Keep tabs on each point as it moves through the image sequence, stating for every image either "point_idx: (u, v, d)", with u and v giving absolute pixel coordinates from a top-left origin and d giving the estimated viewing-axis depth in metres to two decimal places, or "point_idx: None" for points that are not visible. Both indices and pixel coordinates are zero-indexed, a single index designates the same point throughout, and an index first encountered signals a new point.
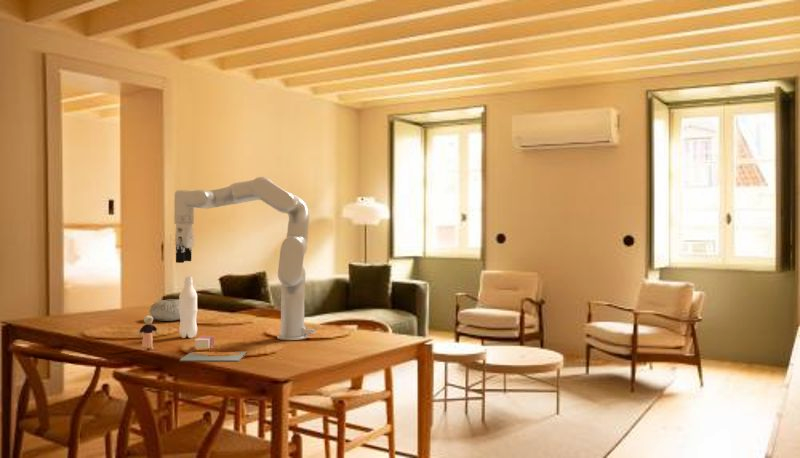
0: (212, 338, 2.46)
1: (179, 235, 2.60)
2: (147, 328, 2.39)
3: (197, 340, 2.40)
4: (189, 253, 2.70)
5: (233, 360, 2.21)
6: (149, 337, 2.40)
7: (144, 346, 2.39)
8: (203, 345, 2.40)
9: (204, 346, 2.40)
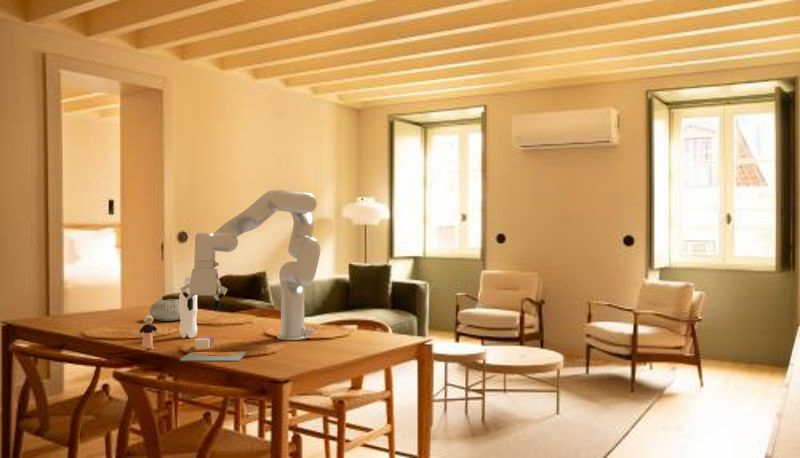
0: (212, 338, 2.46)
1: (217, 281, 2.43)
2: (147, 328, 2.39)
3: (197, 340, 2.40)
4: (192, 301, 2.44)
5: (233, 360, 2.21)
6: (149, 337, 2.40)
7: (144, 346, 2.39)
8: (203, 345, 2.40)
9: (204, 346, 2.40)
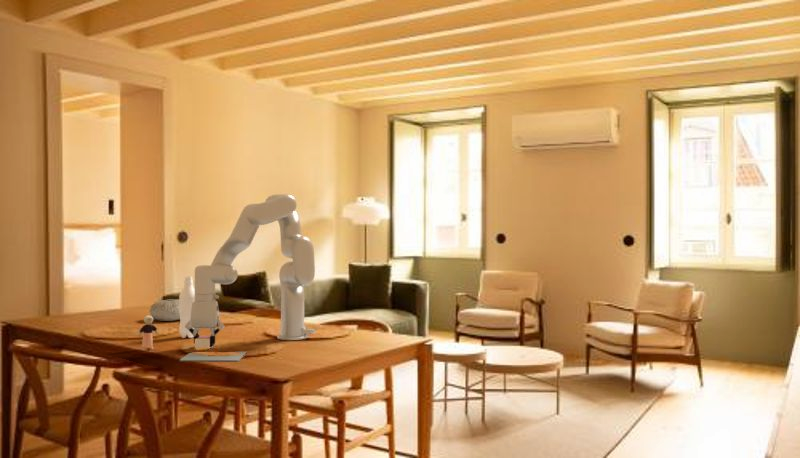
0: None
1: (217, 314, 2.44)
2: (147, 328, 2.39)
3: (197, 340, 2.40)
4: None
5: (233, 360, 2.21)
6: (149, 337, 2.40)
7: (144, 346, 2.39)
8: (203, 345, 2.40)
9: (204, 346, 2.40)
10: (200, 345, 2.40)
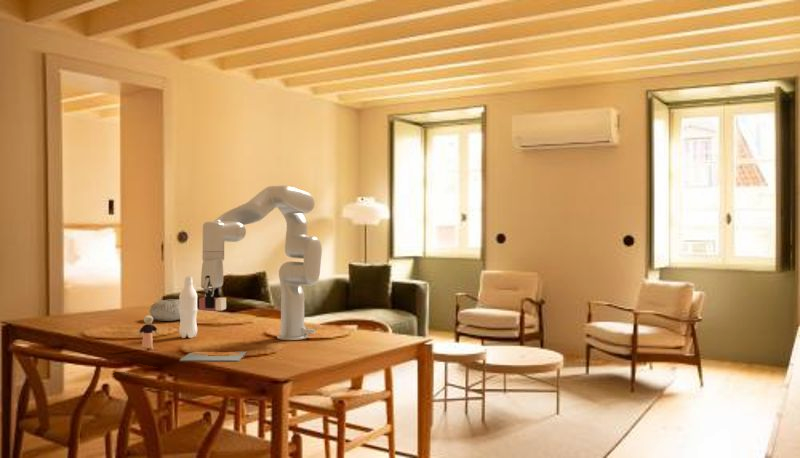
0: None
1: None
2: (147, 328, 2.39)
3: (221, 299, 2.28)
4: None
5: (233, 360, 2.21)
6: (149, 337, 2.40)
7: (144, 346, 2.39)
8: (224, 304, 2.30)
9: (224, 305, 2.31)
10: (223, 304, 2.29)
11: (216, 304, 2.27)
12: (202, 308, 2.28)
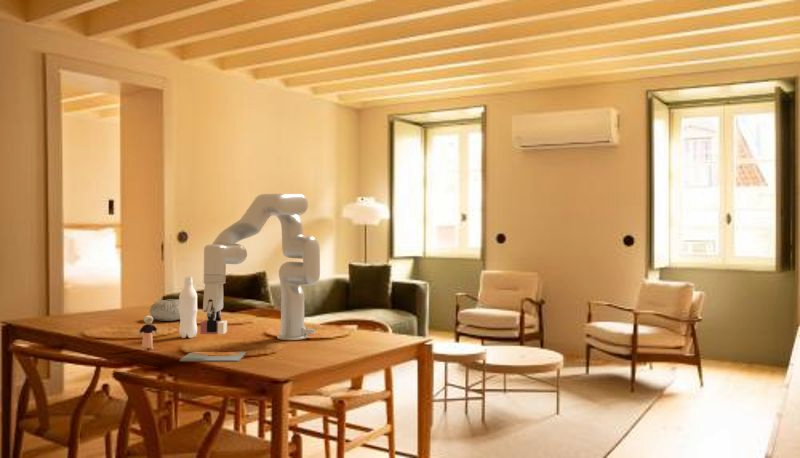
0: None
1: None
2: (147, 328, 2.39)
3: (224, 323, 2.26)
4: None
5: (233, 360, 2.21)
6: (149, 337, 2.40)
7: (144, 346, 2.39)
8: (225, 327, 2.29)
9: (225, 328, 2.29)
10: (224, 328, 2.28)
11: (218, 328, 2.25)
12: (204, 332, 2.25)
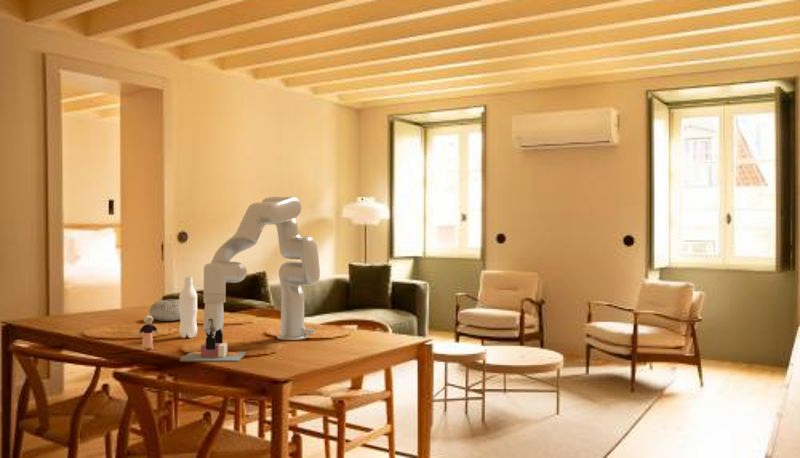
0: None
1: None
2: (147, 328, 2.39)
3: (224, 346, 2.27)
4: None
5: (233, 360, 2.21)
6: (149, 337, 2.40)
7: (144, 346, 2.39)
8: (226, 350, 2.29)
9: (226, 351, 2.29)
10: (225, 350, 2.28)
11: (219, 351, 2.26)
12: (204, 355, 2.26)
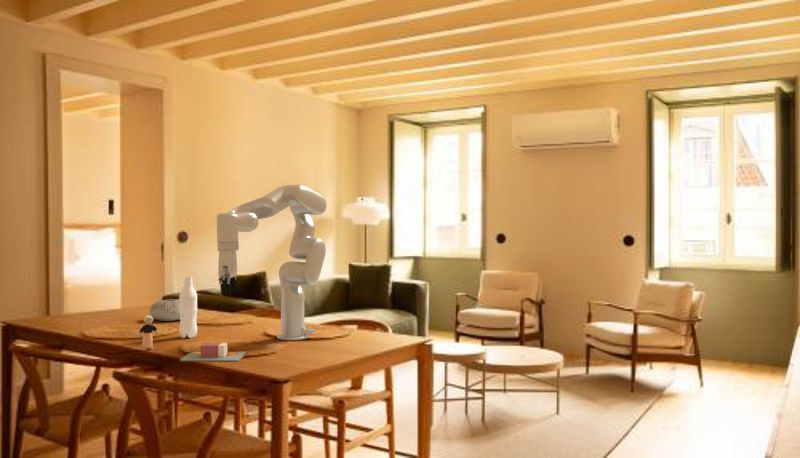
0: None
1: None
2: (147, 328, 2.39)
3: (224, 346, 2.27)
4: None
5: (233, 360, 2.21)
6: (149, 337, 2.40)
7: (144, 346, 2.39)
8: (226, 350, 2.29)
9: (226, 351, 2.29)
10: (225, 350, 2.28)
11: (219, 351, 2.26)
12: (204, 355, 2.26)
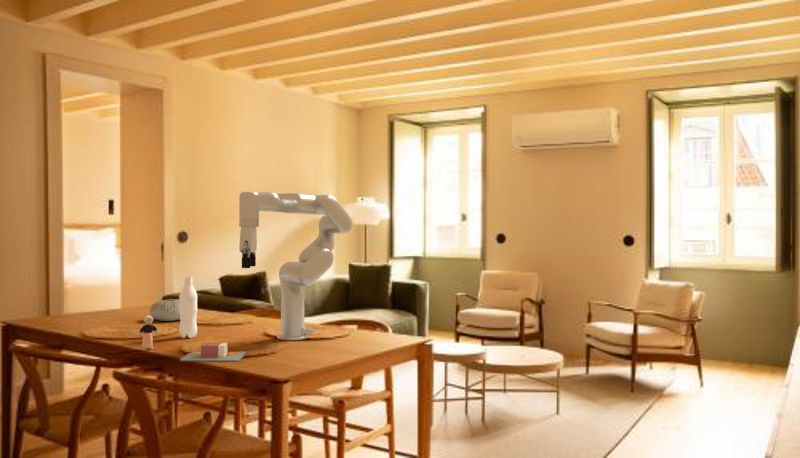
0: None
1: None
2: (147, 328, 2.39)
3: (224, 346, 2.27)
4: None
5: (233, 360, 2.21)
6: (149, 337, 2.40)
7: (144, 346, 2.39)
8: (226, 350, 2.29)
9: (226, 351, 2.29)
10: (225, 350, 2.28)
11: (219, 351, 2.26)
12: (204, 355, 2.26)
